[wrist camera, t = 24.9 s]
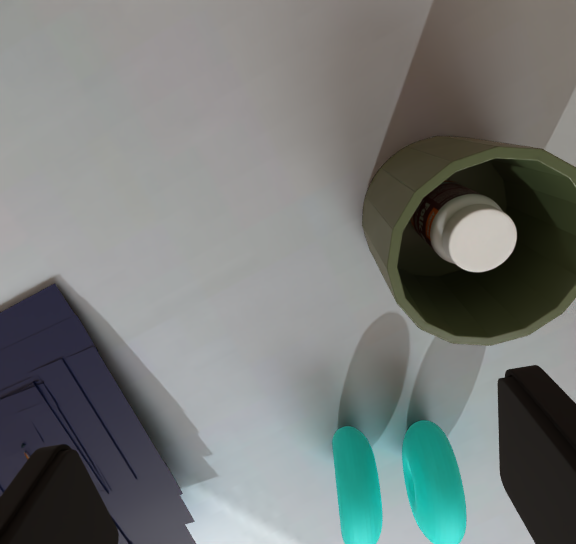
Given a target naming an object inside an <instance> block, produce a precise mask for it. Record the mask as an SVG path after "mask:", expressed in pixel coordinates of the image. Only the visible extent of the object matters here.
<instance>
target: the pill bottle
mask: <svg viewBox="0 0 576 544" xmlns="http://www.w3.org/2000/svg"><path fill="white" fill-rule="evenodd" d="M410 222H411V225H412V226H413V228H414V230H415V231H416V232H417V233H418V234H419V235H420V236H421V237H422V238H423V239H424V240H425V242H426V243H427V244H428V245H429V246H430V247H431V248H432V249H433V250H434V251H435V252H436V253H437V254H438V255H439V256H440V257H441V258H442V259H444V260H446V261H447V262H450V263H453V264H456V265H457V266H459V267H460V268H462V269H464V270H467V271H470V272H484V271H488V270H491V269H494V268H496V267H497V266H499V265H501V264H502V263H503V262H504V261H505V260H506V259H507V258H508V257H509V256H510V254H511V253H512V252H513V250H514V247H515V244H516V240H517V231H516V227H515V224H514V222H513V221H512V219H511V218H510V217H509V216H508V215H507V214H506V213H504V212H503V211H502V209H501V208H500V207H499V205H498V204H497V203H496V202H494V201H493V200H492V199H490V198H488V197H487V196H485V195H482V194H480V193H477V192H475V191H473V190H471V189H469V188H466V187H464V186H462V185H460V184H458V183H456V182H453V181H448V180H445V181H444V182H442V183H441V184H440V185H439V186H437V187H436V188H435V189H434V190H432V191H431V192H430V193H429V194H427V195H426V196H425V197H424V198H423V199H422V201H421V202H420V204H419V206H418V207H417V209H416V211H415V212H414V214H413V216H412V217H411V219H410Z"/></svg>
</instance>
